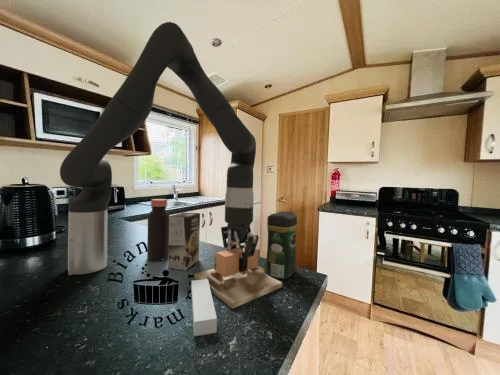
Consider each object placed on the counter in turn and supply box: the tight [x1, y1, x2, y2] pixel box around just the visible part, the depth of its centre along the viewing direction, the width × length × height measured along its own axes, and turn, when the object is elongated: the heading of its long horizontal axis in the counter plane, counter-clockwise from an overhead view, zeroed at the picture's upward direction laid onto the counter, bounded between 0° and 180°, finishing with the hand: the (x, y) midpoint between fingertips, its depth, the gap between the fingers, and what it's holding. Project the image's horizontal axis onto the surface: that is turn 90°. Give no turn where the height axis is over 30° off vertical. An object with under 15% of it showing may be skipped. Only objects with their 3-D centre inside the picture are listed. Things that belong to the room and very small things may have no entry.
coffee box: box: [167, 212, 201, 271], centre depth 71 cm, size 9×6×16 cm
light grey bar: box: [190, 279, 218, 337], centre depth 47 cm, size 4×16×3 cm, turn 16°
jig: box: [193, 254, 283, 310], centre depth 59 cm, size 16×18×5 cm
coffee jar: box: [265, 210, 298, 280], centre depth 66 cm, size 10×8×19 cm
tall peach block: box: [215, 247, 259, 277], centre depth 59 cm, size 11×4×5 cm, turn 130°
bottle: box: [146, 198, 171, 262], centre depth 75 cm, size 7×7×20 cm
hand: (237, 267), depth 59 cm, fingers closed on tall peach block, 4 cm apart
